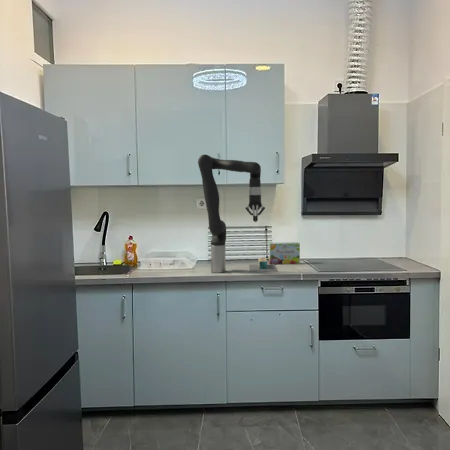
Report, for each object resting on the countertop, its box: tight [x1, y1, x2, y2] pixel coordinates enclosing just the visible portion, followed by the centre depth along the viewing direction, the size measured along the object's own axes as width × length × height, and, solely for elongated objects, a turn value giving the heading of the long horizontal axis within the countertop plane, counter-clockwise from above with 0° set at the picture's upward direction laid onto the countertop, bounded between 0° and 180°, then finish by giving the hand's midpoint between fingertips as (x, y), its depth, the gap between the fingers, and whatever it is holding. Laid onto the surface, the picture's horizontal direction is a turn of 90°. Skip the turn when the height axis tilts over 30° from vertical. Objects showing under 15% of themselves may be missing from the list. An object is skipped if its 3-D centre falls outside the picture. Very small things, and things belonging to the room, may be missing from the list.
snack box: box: [268, 241, 301, 265], centre depth 303 cm, size 21×6×15 cm, turn 94°
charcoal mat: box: [248, 263, 279, 273], centre depth 283 cm, size 18×28×1 cm, turn 177°
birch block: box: [258, 257, 268, 269], centre depth 287 cm, size 5×5×16 cm
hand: (255, 221), depth 270 cm, fingers closed
